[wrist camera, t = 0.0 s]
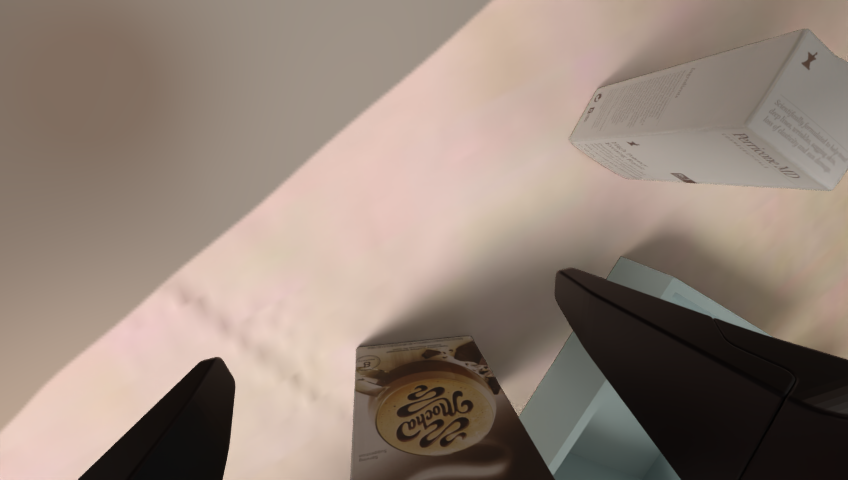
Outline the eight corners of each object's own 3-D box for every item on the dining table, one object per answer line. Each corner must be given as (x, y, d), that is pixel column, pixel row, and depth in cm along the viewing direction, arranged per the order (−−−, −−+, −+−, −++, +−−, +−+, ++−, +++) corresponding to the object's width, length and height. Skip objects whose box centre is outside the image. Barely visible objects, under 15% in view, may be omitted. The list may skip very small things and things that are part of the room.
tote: (636, 481, 34) (681, 533, 29) (508, 433, 30) (536, 485, 25) (743, 329, 32) (810, 359, 27) (620, 256, 28) (674, 276, 23)
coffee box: (472, 331, 27) (615, 558, 12) (471, 402, 29) (597, 686, 13) (353, 344, 26) (340, 621, 11) (358, 418, 28) (355, 757, 12)
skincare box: (564, 142, 25) (738, 131, 14) (597, 83, 25) (808, 19, 13) (627, 181, 27) (832, 201, 15) (659, 127, 26) (897, 104, 15)
